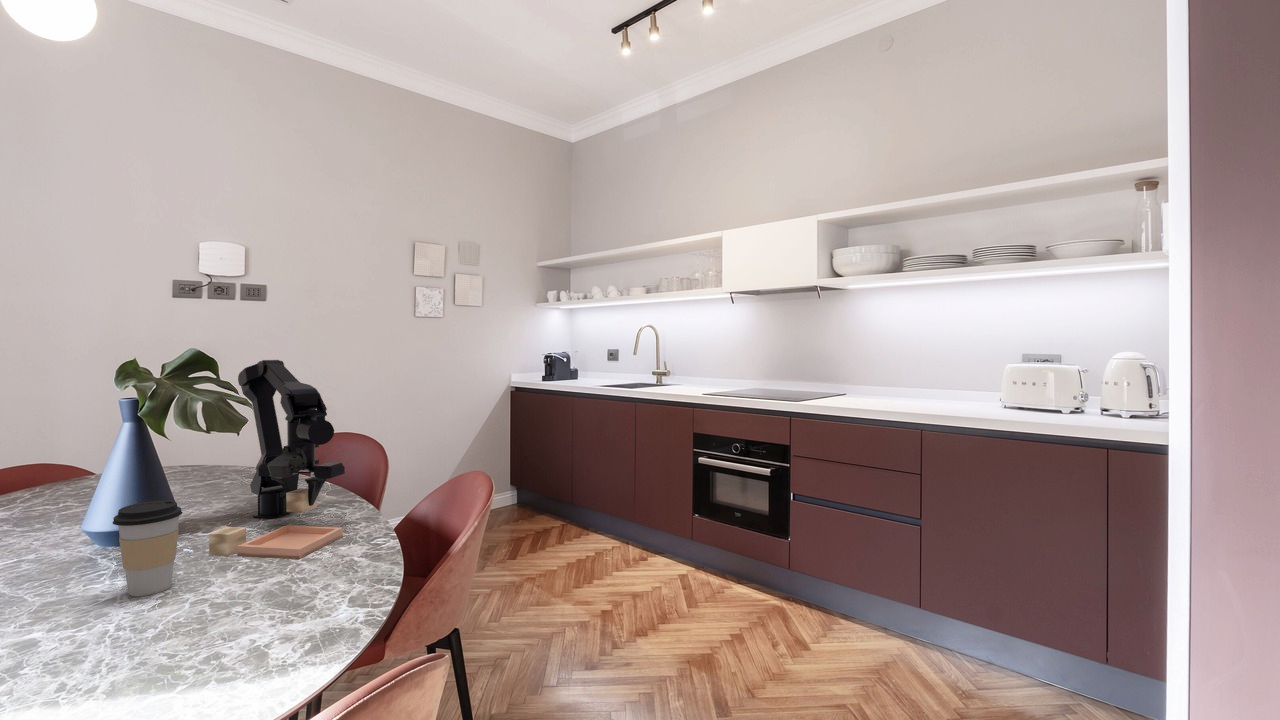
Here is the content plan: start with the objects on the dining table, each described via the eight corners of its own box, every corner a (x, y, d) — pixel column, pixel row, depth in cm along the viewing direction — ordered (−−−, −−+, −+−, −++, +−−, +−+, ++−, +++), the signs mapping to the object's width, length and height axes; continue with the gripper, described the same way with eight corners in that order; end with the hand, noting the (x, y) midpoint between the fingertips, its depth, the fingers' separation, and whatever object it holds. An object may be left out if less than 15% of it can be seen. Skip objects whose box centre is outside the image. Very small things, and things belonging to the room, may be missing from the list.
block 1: (209, 554, 119) (208, 533, 119) (227, 547, 124) (226, 526, 124) (228, 556, 119) (228, 534, 119) (246, 548, 123) (245, 527, 123)
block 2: (286, 511, 135) (286, 492, 135) (299, 506, 140) (299, 488, 140) (304, 512, 135) (303, 493, 135) (317, 507, 139) (316, 488, 139)
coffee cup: (196, 580, 106) (195, 500, 106) (148, 602, 97) (147, 515, 97) (150, 577, 107) (149, 498, 107) (98, 599, 98) (96, 513, 97)
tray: (237, 555, 119) (237, 546, 119) (286, 533, 133) (286, 525, 133) (299, 559, 117) (299, 549, 117) (342, 536, 131) (342, 527, 131)
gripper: (238, 445, 130) (239, 513, 130) (314, 447, 128) (315, 516, 128) (275, 437, 141) (275, 500, 141) (345, 439, 139) (346, 503, 139)
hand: (301, 504), depth 137 cm, fingers closed on block 2, 4 cm apart
